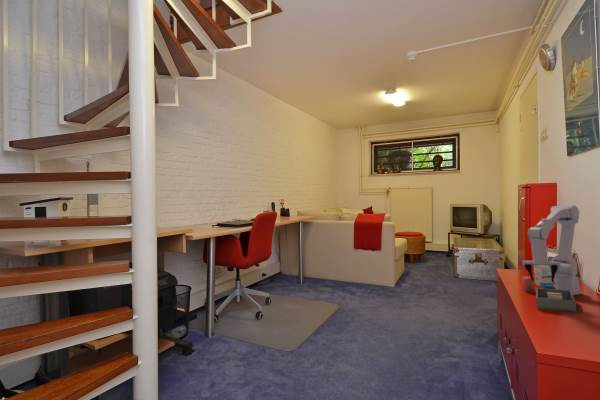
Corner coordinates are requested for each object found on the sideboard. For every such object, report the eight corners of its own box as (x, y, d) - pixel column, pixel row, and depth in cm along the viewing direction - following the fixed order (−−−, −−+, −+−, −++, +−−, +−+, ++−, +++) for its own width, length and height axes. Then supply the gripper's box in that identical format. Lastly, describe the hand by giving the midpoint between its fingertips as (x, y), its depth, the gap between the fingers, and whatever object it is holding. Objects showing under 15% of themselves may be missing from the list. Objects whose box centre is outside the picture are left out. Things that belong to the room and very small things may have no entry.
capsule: (528, 289, 168) (527, 276, 168) (537, 291, 163) (536, 278, 163) (521, 290, 167) (519, 277, 167) (529, 292, 162) (528, 279, 162)
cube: (548, 303, 143) (547, 292, 143) (562, 304, 140) (561, 293, 140) (548, 306, 139) (547, 295, 139) (563, 308, 136) (562, 296, 136)
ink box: (553, 288, 166) (551, 265, 167) (543, 288, 167) (541, 266, 168) (544, 283, 175) (542, 262, 175) (534, 284, 176) (532, 263, 176)
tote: (536, 298, 153) (535, 287, 153) (572, 301, 145) (571, 290, 145) (537, 309, 139) (536, 297, 139) (576, 313, 131) (575, 301, 132)
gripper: (521, 253, 151) (523, 281, 151) (559, 254, 142) (562, 284, 142) (521, 251, 157) (523, 278, 156) (558, 251, 148) (561, 280, 148)
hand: (542, 280), depth 150 cm, fingers open, 7 cm apart
